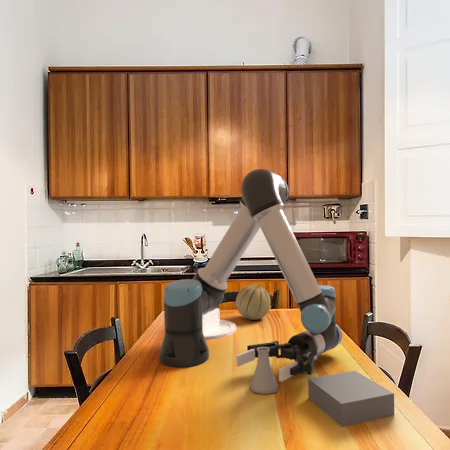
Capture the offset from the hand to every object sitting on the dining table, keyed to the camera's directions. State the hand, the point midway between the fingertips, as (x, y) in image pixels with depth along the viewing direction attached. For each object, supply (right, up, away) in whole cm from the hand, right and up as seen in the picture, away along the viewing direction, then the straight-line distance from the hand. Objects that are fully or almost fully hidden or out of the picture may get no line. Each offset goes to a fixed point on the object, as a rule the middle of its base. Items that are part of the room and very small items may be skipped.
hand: (257, 367), depth 91 cm
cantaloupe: (+4, -5, +68) cm, 68 cm away
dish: (-16, -6, +54) cm, 57 cm away
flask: (+2, -6, +2) cm, 7 cm away
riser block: (+20, -6, -8) cm, 22 cm away
